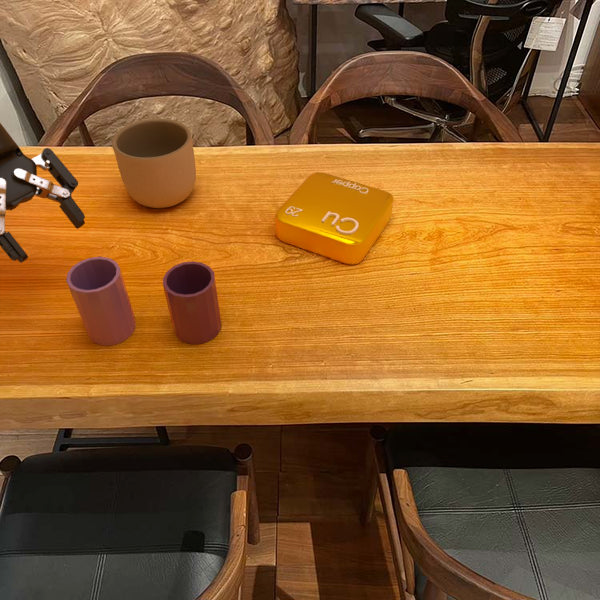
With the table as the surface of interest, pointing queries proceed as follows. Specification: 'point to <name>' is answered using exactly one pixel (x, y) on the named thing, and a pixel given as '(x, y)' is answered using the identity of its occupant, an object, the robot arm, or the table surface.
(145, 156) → the planter
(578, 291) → the table surface
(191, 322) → the plum cup
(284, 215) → the element tile
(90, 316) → the lilac cup
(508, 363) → the table surface
